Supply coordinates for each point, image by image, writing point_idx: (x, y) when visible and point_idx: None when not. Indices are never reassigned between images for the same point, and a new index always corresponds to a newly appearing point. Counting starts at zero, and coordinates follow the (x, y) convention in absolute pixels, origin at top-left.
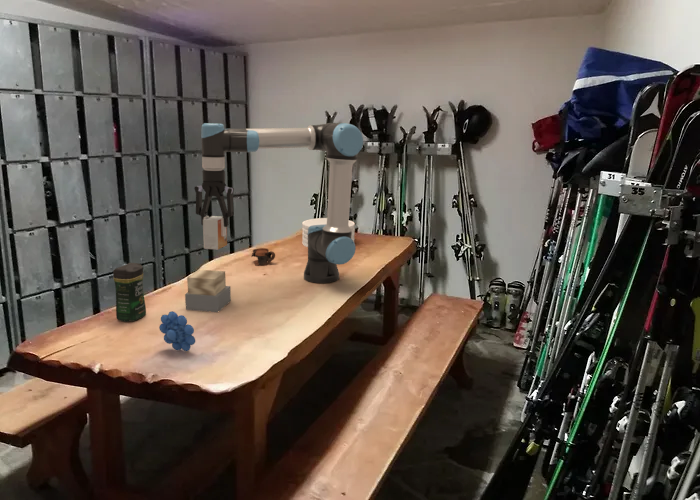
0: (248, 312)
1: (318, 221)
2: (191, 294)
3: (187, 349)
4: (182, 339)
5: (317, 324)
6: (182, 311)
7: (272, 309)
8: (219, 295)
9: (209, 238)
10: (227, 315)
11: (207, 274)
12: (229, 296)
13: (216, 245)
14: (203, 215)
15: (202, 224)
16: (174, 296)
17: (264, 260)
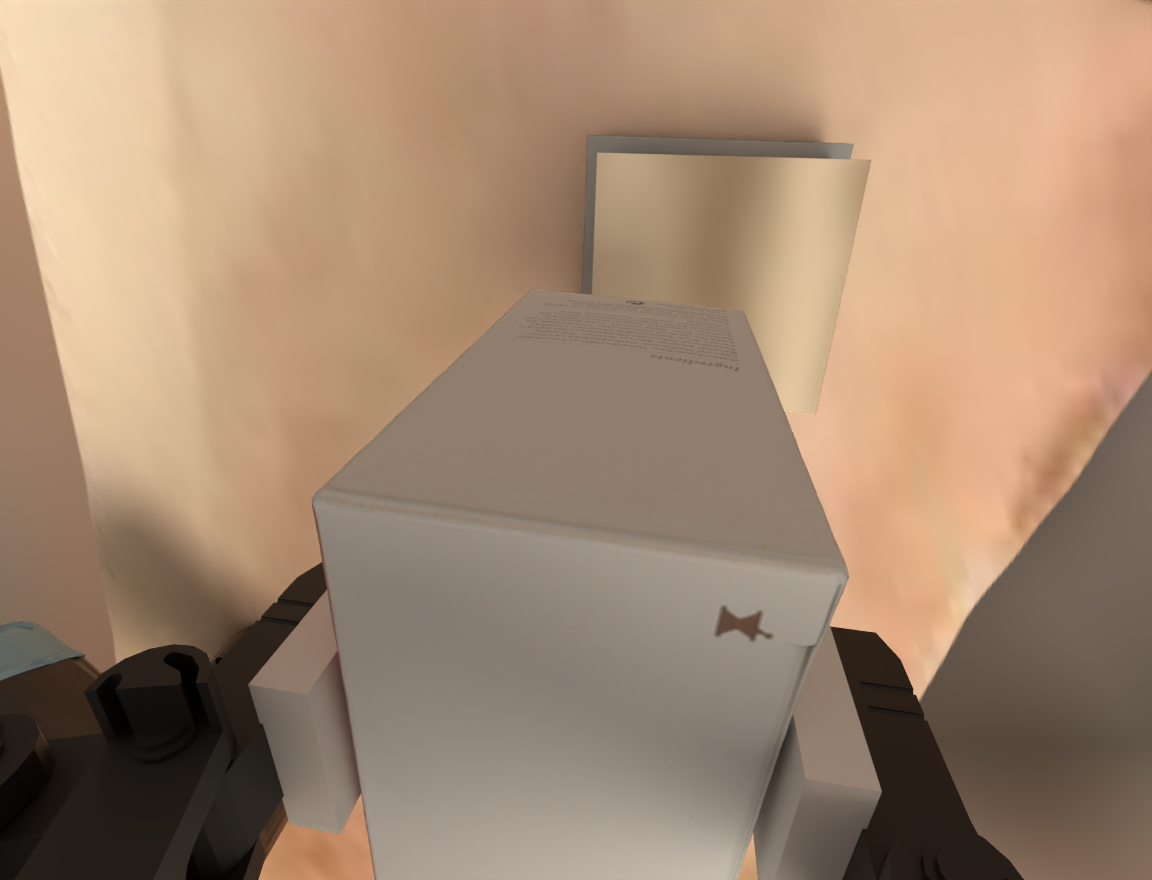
0: (425, 172)
1: None
2: (798, 147)
3: None
4: None
5: (7, 52)
6: (838, 106)
7: (322, 246)
8: (586, 177)
9: (641, 337)
10: (524, 91)
11: (703, 287)
12: None
13: (539, 299)
14: (905, 858)
15: (869, 644)
16: (960, 377)
17: None
